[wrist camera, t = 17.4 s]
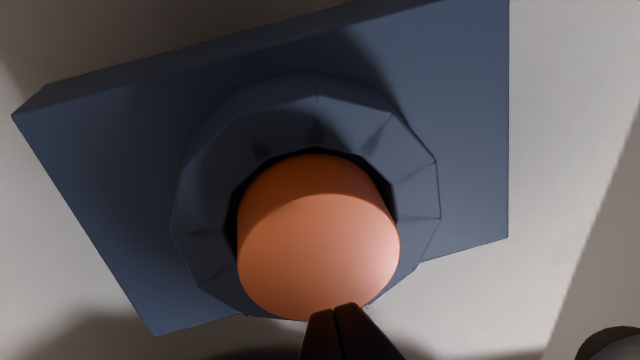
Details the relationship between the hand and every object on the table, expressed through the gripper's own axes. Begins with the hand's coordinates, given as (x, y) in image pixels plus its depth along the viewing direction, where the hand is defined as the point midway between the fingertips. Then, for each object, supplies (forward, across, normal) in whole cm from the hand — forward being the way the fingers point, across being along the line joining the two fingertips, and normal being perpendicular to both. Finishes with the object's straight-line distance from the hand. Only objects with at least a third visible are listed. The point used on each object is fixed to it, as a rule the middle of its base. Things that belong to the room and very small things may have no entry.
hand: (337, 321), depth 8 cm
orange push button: (+3, 0, 0) cm, 3 cm away
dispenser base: (+7, 0, 0) cm, 7 cm away
